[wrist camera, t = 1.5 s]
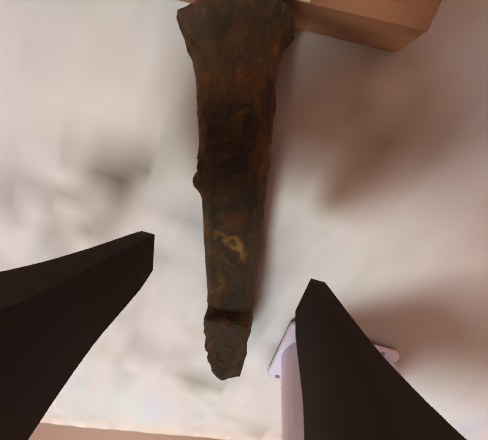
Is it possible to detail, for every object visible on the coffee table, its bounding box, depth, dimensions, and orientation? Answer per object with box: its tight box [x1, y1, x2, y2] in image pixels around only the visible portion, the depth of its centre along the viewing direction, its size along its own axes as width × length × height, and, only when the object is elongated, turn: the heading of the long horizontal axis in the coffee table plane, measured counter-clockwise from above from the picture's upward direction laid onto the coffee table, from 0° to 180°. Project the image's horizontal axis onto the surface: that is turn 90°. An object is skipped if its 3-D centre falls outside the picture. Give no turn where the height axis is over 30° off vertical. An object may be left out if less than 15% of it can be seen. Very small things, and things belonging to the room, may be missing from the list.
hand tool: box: [177, 0, 296, 380], centre depth 13 cm, size 23×5×6 cm, turn 176°
